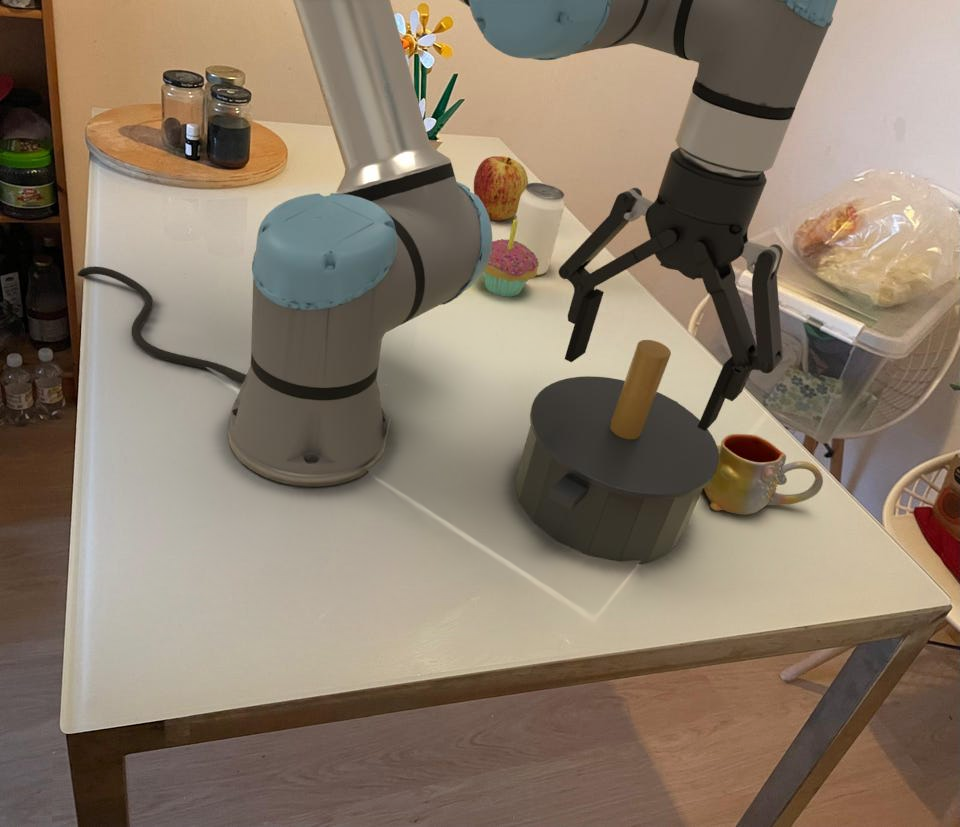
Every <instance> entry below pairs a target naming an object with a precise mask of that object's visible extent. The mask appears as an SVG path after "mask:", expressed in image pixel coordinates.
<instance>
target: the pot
mask: <svg viewBox="0 0 960 827" xmlns="http://www.w3.org/2000/svg"><path fill="white" fill-rule="evenodd" d="M676 402H677V403H679V402H678V401H676ZM520 458H521V459H520V462H519V465H518V469H517V473H516V475H515V480H514V482H515V489H516V493H517V497H518V498H517V499H518V502H519V504H520V506H521V507H522V509H523V510H524V511H525V513H526V514H527V516H528V517H529V518H530V521H531V522H532V523H533V524H534V525H536V526H537V527H538V528H539V529H541V530H542V531H544V532H545V533H546V534H547V535H548V536H549V537H550V538H553V540H555V541H556V542H557V543H559V544H562V545H564V546H566V547H569V548H570V549H573V550H575V551H577V552H579V553H582V554H584V555H586V556H590V557H595V558H599V559H605V560H609V561H615V562H632V561H639V562H638V565H640V564H641V565H642V564H646V563H649V562H653V561H656V560H658V559H660V558H662V557H664V556H666V554H668V553H670V552H671V551H672V550H673V549H674V548H675V547H676V545H677V543H678V542H679V541H680V539H681V537H682V536H683V535H684V533H685V530H686V528H687V526H688V524H689V521H690V519H691V517H692V515H693V512H694V510H695V508H696V506H697V504H698V501H699V499H700V496H701V494H702V492H703V491H704V488H702V489H700V490H699V491H697V492H695V493H692V494H690V495H687V496H683V497H679V498H671V499H645V498H638V497H631V496H627V495H623V494H618V493H615V492H612V491H609V490H606V489H603V488H600V487H598V486H596V485H593V484H591V483H589V482H587V481H585V480H583V479H581V478H579V477H577V476H576V475H574V474H572V473H571V472H569V471H568V470H566V469H565V468H563V467H562V466H561V465H559V464H558V463H557V462H556V461H555V460H554V459H552V458H551V457H550V456H549V455H548V454H547V453H546V451H545V450H544V449H543V448H542V447H541V445H540V444H539V442H538V441H537V439H536V437H535V435H534V433H533V431H532V427H531V424H530V426H529V428H528V433H527V437H526V440H525V443H524V447H523V451H522V454H521V457H520Z"/></svg>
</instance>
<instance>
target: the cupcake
mask: <svg viewBox="0 0 960 827" xmlns="http://www.w3.org/2000/svg"><path fill="white" fill-rule="evenodd" d="M511 224H512V225H511V230H510V234H509V238H508V239H503V238H501V239H498V240H497V239H496V240H494V241H493V240H492V250H491V255H490V259H489V262H488V264H487V266H486V268H485V270H484V272H483V278H484V287H485V288H486V289H487V290H488V291H489V292H490V293H493V294H495V295H497V296H502V297H516V296H518V295H520V293H521V292H522V290H523V288H524V287H525V285H526V284H527V283H528V281H529V280H531V279H534V278H535V277H536V276H535V275H536V273H537V267H538V266H539V265H538V264H539V262H538V259H536V255H534V253H533V252H532V251H530V249H528V248H527V247H526V246H524V245H523V244H521V243H519V242H517V241H514V238H515V233H516V229H517V224H518V220H517V215H516V214H515V218H514V219H513V220H512V223H511Z"/></svg>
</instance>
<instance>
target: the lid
mask: <svg viewBox="0 0 960 827" xmlns="http://www.w3.org/2000/svg"><path fill="white" fill-rule="evenodd" d="M671 355H672V352H671V350H670V348H669V347H668V346H667V345H665V344H663V343H662V342H660V341H657V340H652V339H642V340H640V341H638V342H637V344H636V347H635V351H634V353H633V356H632V359H631V362H630V365H629V367H628V371H627V373H626V375H625V376H626V377H625V379H624V380H623V379H619V378H613V377H605V376H592V375H590V376H589V375H586V376H585V375H584V376H575V377H573V376H572V377H567V378H564V379H560V380H557V381H555V382H552V383H550V384H548V385H547V386H546V387H544V388H543V389H541V391H539V392H538V394H537V395H535V397H534V399H533V402H532V404H531V407H530V413H529V419H530V420H529V423H530V425H531V427H532V431H533V433H534V435H535V437H536V439H537V441H538V442H539V444H540V445H541V447H542V448H543V449H544V450H545V451H546V453H547V454H548V455H549V456H550V457H551V458H552V459H554V460H555V461H556V462H557V463H558V464H559V465H561V466H562V467H563V468H565V469H566V470H568V471H569V472H571V473H572V474H574V475H576V476H577V477H579V478H581V479H583V480H585V481H587V482H589V483H591V484H593V485H596V486H598V487H600V488H603V489H606V490H609V491H612V492H615V493H618V494H623V495H627V496H631V497H638V498H645V499H671V498H679V497H683V496H687V495H690V494H692V493H695V492H697V491H699V490H700V489H702V488H703V489H704V487H705V486H706V485H707V484H708V483H709V482H710V481H711V480H712V478H713V477H714V475H715V473H716V471H717V468H718V465H719V452H718V448H717V446H718V445H717V442H716V440H715V438H714V436H713V435H712V433H711V431H710V430H709V428H708V429H707V430H706V431H704V430H702V429H700V428H698V424H699V422H700V420H701V419H699V418H698V417H697V416H696V415H695V414H694V413H692V412H691V411H690V410H689V409H687V408H686V407H685V406H684V405H682V404H681V403H679V402H678V401H676V400H674V399H672V398H671V397H669V396H667V395H665V394H663V393H660V392H659V391H658V390H659V387H660V385H661V382H662V379H663V376H664V374H665V372H666V368H667V366H668V363H669V360H670V358H671ZM677 402H678V403H677Z"/></svg>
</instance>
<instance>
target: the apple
mask: <svg viewBox="0 0 960 827" xmlns="http://www.w3.org/2000/svg"><path fill="white" fill-rule="evenodd" d="M527 184H529V178H528V175H527V172H526V169H525V168H524V166H523V165H522V164H521V163H519V162H518V161H517V160H515V159H513V158H511V157H508V156H504V155H502V156H499V155H498V156H496V155H495V156H490V157H487V158H485V159H483V160H482V162H480V164H479V165H478V167H477V170H476V172H475V174H474V179H473V194H475V195H477V196H478V197H479V198H480V200H481V201H482V203H483V205H484V206H485V208H486V211H487V213H488V216H489V219H490V220H493V221H498V222H500V221H505V220H509V219H510V218H512V217H514V216H516V213H517V209H518V205H519V201H520V197H521V194H522V193H523V192H524V191H525V189H526V185H527Z"/></svg>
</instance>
